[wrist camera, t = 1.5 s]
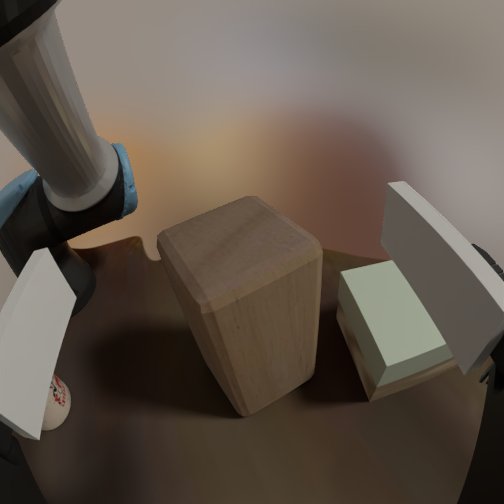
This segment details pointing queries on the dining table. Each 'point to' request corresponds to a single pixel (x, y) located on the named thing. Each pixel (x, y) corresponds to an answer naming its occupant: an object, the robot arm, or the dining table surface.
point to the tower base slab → (365, 373)
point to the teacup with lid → (56, 404)
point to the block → (248, 297)
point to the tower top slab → (390, 323)
